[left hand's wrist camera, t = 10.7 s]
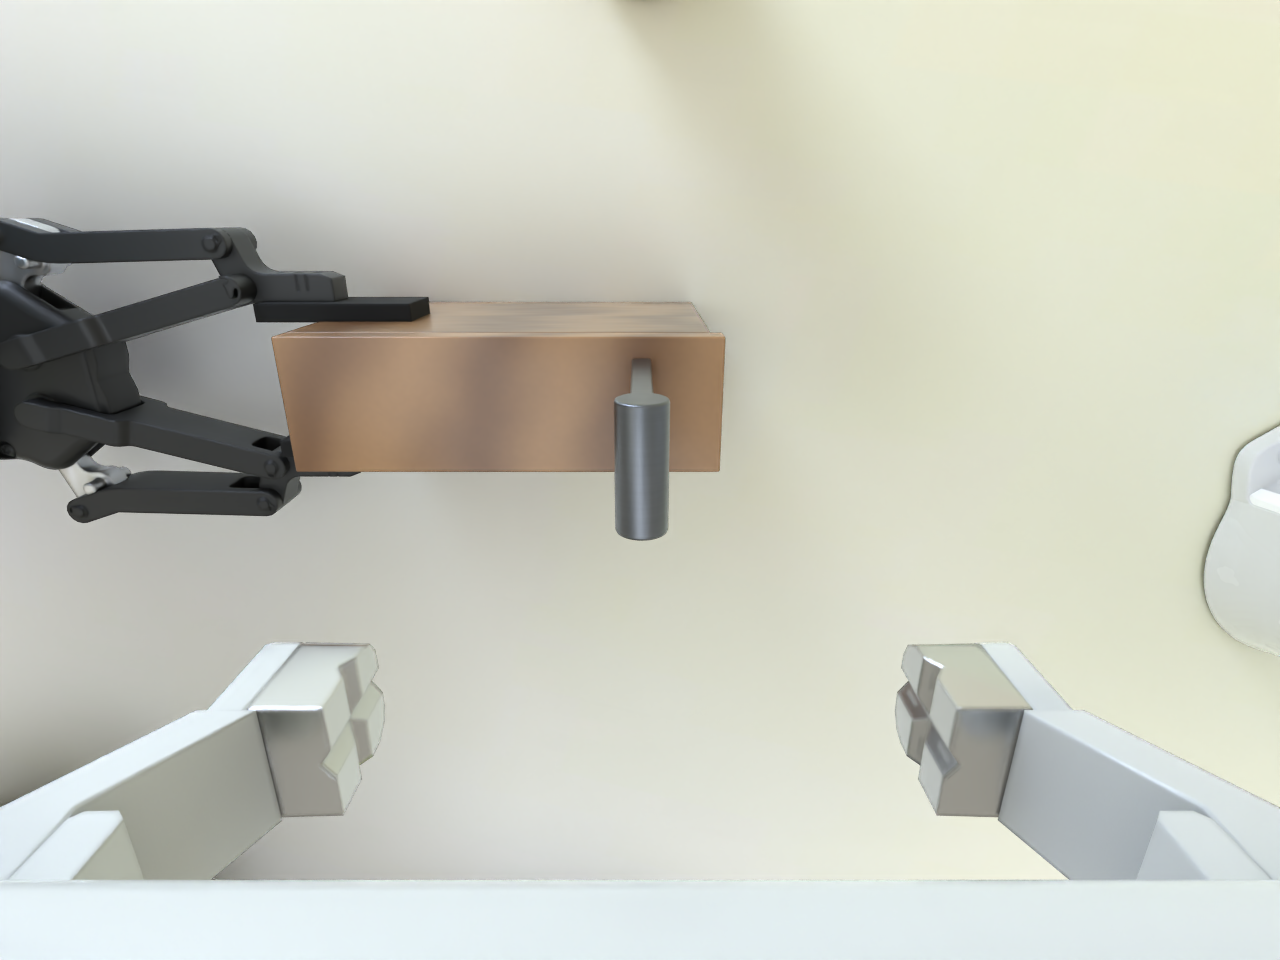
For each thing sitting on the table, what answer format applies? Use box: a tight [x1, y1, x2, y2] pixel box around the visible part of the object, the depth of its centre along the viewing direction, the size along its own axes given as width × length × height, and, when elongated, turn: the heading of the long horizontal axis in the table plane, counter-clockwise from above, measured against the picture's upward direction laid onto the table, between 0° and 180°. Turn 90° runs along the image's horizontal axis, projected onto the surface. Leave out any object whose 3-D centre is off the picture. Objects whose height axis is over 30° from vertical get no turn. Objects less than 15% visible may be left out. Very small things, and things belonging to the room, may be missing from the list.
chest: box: [286, 302, 710, 333], centre depth 32 cm, size 16×5×10 cm, turn 90°
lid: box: [271, 333, 725, 540], centre depth 23 cm, size 17×5×9 cm, turn 90°
